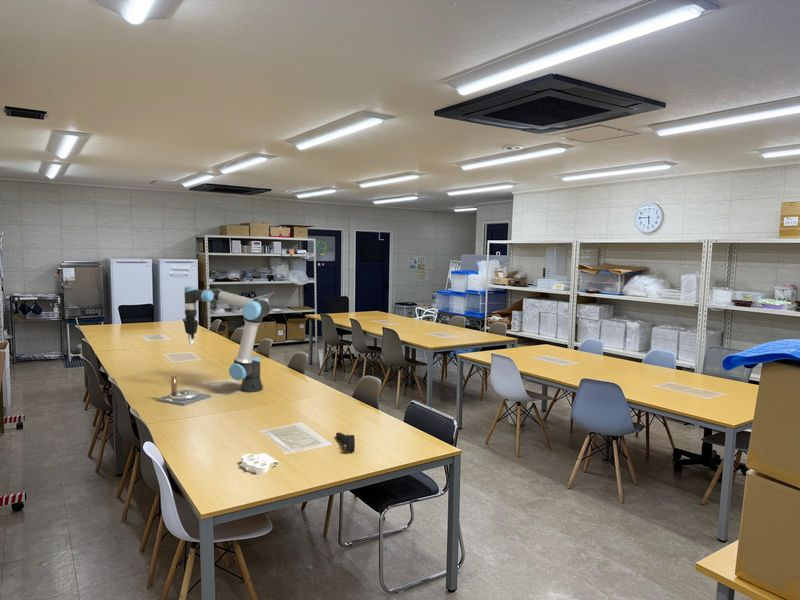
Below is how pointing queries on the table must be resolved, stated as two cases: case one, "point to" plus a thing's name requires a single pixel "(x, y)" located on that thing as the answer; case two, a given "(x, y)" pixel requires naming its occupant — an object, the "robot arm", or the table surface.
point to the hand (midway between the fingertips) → (191, 343)
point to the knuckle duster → (257, 463)
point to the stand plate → (184, 402)
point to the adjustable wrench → (347, 441)
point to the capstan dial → (181, 392)
